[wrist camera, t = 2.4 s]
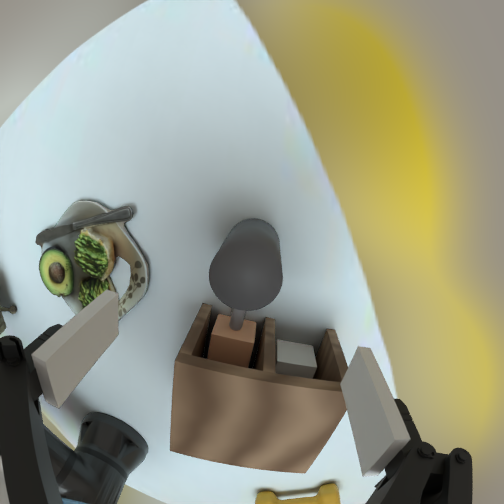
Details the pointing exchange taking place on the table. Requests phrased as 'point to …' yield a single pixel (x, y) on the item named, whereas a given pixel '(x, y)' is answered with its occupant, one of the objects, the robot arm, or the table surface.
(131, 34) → the table surface
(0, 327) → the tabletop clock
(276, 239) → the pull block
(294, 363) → the grey lane block
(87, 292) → the avocado toast plate
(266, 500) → the dumbbell
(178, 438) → the lane shelf
